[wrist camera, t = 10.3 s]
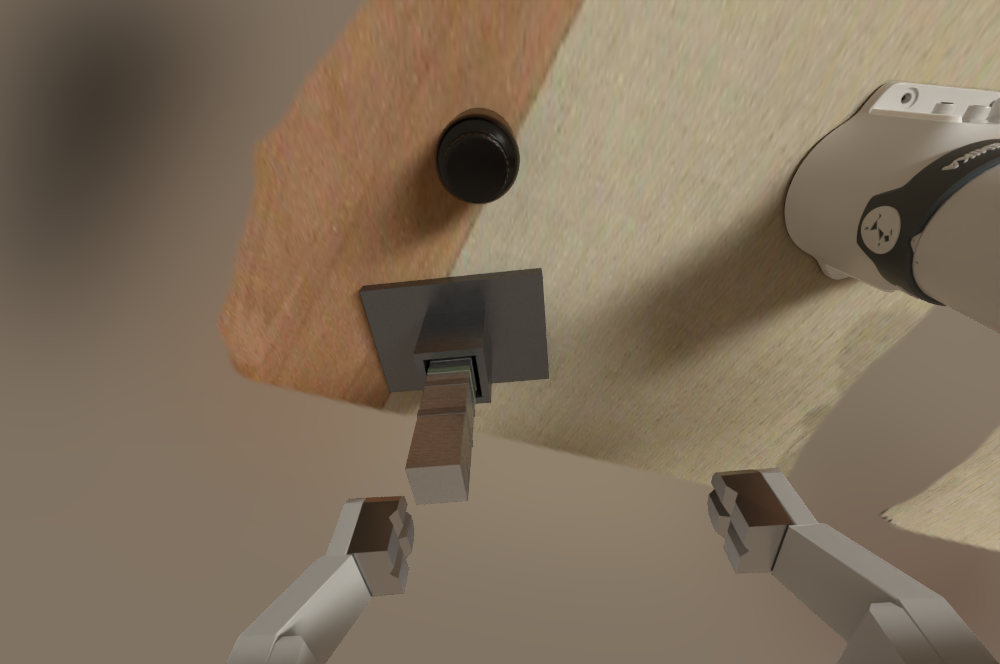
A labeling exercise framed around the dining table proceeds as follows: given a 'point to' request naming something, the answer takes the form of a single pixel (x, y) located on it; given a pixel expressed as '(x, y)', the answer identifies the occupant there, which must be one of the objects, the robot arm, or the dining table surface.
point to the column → (444, 433)
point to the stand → (460, 327)
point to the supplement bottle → (477, 156)
